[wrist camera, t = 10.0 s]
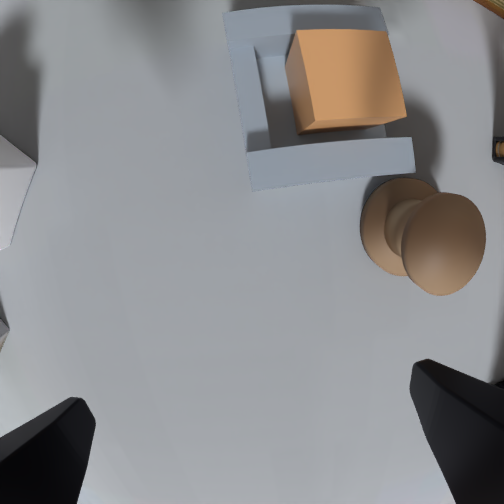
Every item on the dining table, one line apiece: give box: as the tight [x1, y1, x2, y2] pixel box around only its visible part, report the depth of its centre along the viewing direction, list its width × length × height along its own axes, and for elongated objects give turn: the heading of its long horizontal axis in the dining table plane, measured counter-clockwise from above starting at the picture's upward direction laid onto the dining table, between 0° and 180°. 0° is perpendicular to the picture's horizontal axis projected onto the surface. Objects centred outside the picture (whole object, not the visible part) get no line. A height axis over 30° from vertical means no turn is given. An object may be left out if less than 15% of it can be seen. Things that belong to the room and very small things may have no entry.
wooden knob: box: [360, 178, 486, 296], centre depth 15 cm, size 6×6×6 cm
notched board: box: [222, 5, 416, 192], centre depth 14 cm, size 9×8×4 cm
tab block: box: [285, 29, 407, 135], centre depth 13 cm, size 4×4×5 cm
